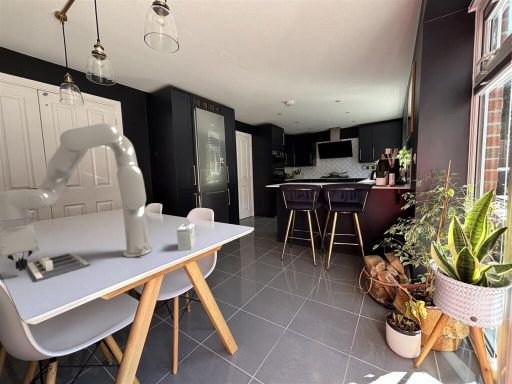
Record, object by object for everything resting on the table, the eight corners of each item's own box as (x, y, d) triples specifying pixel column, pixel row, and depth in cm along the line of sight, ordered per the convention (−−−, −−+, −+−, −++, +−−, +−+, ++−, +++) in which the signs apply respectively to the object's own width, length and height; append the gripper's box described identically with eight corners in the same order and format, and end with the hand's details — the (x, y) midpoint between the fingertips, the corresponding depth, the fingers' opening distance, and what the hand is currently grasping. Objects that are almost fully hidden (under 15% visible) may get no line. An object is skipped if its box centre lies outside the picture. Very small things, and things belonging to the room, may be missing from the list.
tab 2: (50, 266, 89) (49, 258, 89) (43, 267, 88) (42, 259, 87) (49, 264, 91) (47, 256, 90) (42, 266, 89) (41, 258, 89)
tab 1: (47, 262, 93) (46, 255, 93) (40, 264, 91) (39, 256, 91) (46, 261, 94) (44, 253, 94) (39, 263, 93) (38, 255, 92)
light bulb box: (183, 243, 116) (181, 224, 115) (196, 242, 116) (194, 223, 115) (177, 250, 105) (176, 229, 104) (191, 249, 106) (190, 228, 105)
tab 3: (53, 269, 86) (52, 261, 85) (46, 271, 84) (45, 263, 84) (52, 268, 87) (51, 259, 87) (45, 270, 86) (44, 261, 85)
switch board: (89, 265, 91) (89, 261, 91) (36, 281, 79) (35, 277, 78) (73, 254, 106) (73, 250, 106) (26, 266, 93) (26, 262, 93)
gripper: (41, 218, 90) (46, 260, 92) (-16, 226, 79) (-9, 274, 80) (45, 220, 86) (50, 264, 88) (-15, 229, 74) (-8, 280, 76)
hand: (22, 269), depth 84 cm, fingers closed
